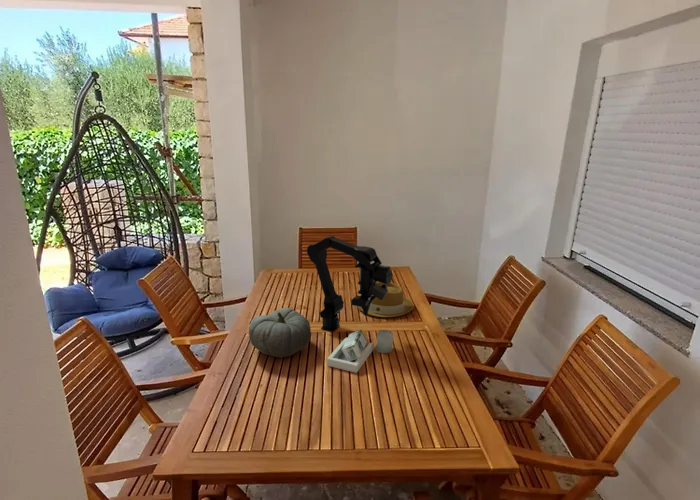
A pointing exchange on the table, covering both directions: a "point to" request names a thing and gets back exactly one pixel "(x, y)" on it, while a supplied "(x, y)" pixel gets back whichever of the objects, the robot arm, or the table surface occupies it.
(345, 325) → the table surface
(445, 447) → the table surface
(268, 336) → the gourd
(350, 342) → the syrup box
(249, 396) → the table surface
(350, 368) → the cradle
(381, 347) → the grey rounded dome
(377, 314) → the fedora
